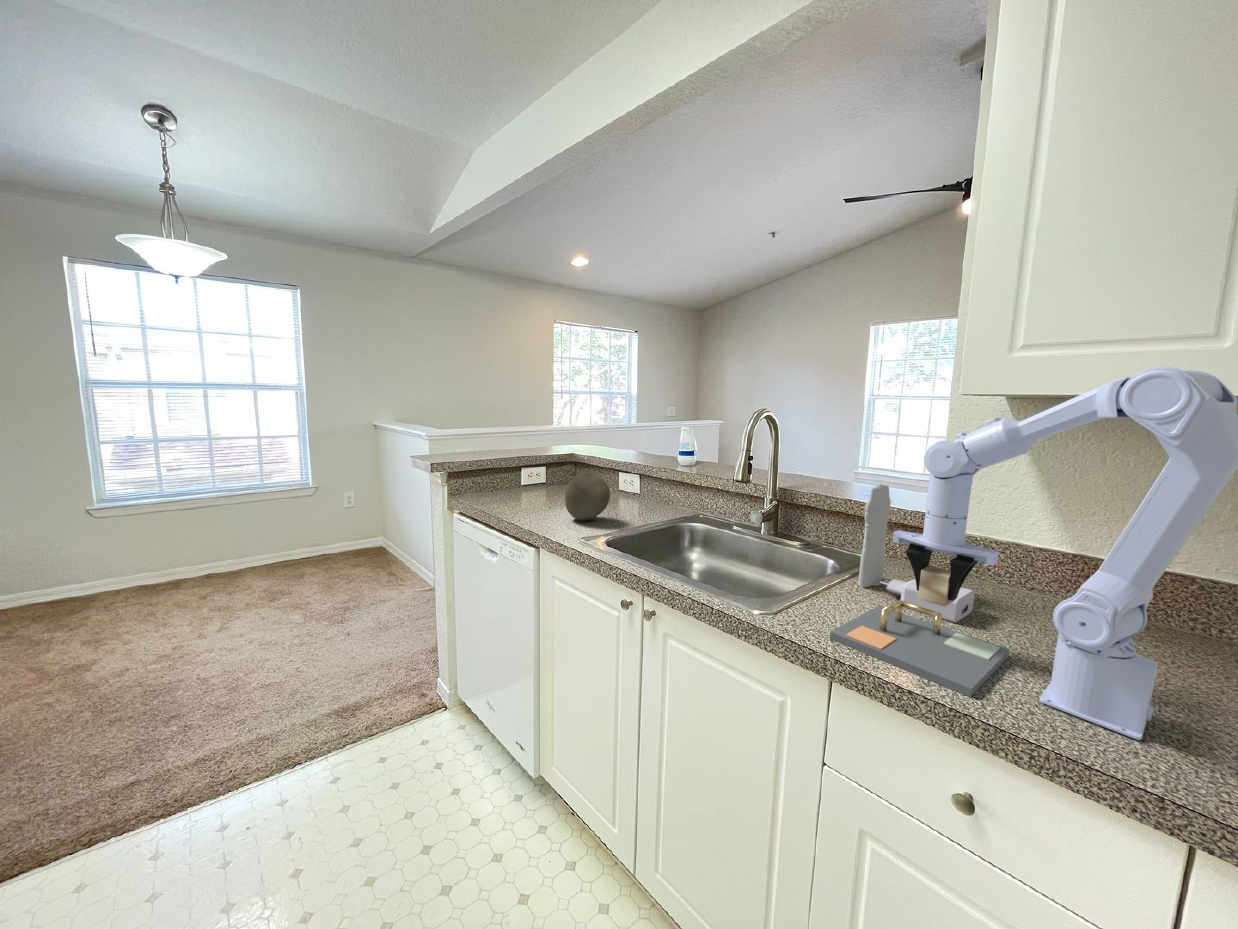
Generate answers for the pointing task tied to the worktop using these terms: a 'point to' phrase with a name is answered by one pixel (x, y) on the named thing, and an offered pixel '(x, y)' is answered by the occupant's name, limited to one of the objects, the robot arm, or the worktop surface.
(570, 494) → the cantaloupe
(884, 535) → the grey tall flat piece
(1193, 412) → the robot arm
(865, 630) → the board
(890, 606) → the brass corner pipe rail
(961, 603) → the charger
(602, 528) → the worktop surface
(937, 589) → the block
